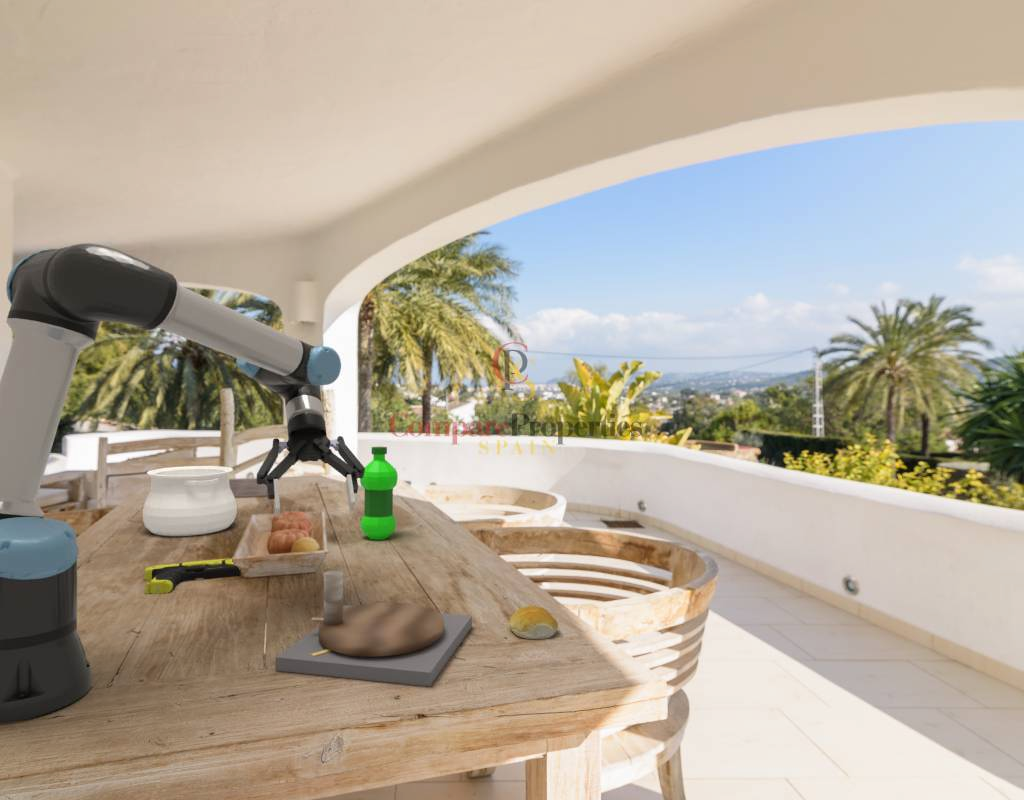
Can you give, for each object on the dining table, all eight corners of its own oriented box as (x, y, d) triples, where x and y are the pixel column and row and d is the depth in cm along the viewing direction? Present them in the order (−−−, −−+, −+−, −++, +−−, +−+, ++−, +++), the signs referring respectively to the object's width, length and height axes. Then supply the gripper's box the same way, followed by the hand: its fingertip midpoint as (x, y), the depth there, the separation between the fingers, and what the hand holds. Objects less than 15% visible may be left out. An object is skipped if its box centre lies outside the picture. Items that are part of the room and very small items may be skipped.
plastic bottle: (390, 542, 180) (391, 449, 179) (353, 540, 182) (354, 448, 181) (402, 534, 190) (403, 446, 189) (367, 532, 192) (367, 445, 191)
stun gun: (244, 573, 142) (239, 556, 155) (140, 583, 133) (145, 564, 147) (244, 587, 142) (239, 568, 155) (140, 598, 133) (145, 578, 147)
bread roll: (547, 620, 123) (548, 599, 123) (562, 639, 115) (562, 615, 115) (504, 623, 121) (504, 601, 121) (515, 642, 113) (515, 618, 113)
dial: (449, 611, 120) (449, 558, 119) (437, 657, 100) (438, 593, 99) (327, 610, 119) (328, 556, 119) (292, 655, 99) (292, 592, 99)
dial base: (430, 686, 95) (430, 671, 95) (275, 670, 100) (275, 655, 100) (471, 626, 119) (472, 614, 119) (345, 616, 124) (345, 604, 124)
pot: (132, 527, 195) (132, 469, 194) (219, 516, 211) (219, 463, 211) (156, 543, 176) (156, 479, 175) (250, 530, 192) (250, 472, 192)
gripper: (364, 432, 147) (379, 514, 134) (241, 436, 137) (244, 525, 124) (368, 409, 141) (384, 492, 128) (241, 412, 132) (244, 502, 119)
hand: (315, 509), depth 126 cm, fingers open, 13 cm apart
